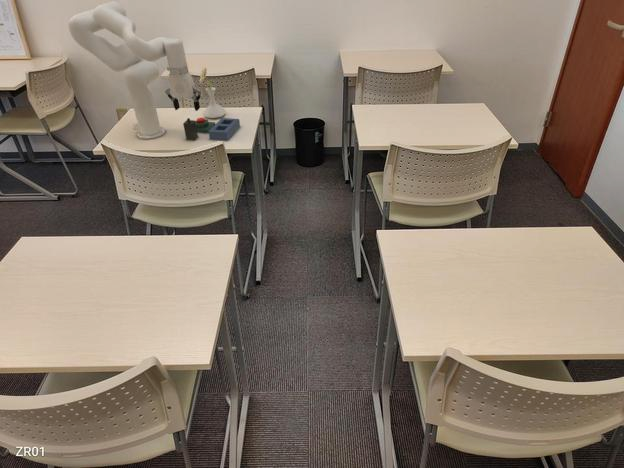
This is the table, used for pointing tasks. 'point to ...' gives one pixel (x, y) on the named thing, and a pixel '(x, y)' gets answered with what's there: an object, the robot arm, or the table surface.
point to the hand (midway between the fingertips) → (187, 109)
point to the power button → (200, 120)
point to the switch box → (204, 126)
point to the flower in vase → (211, 100)
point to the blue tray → (224, 129)
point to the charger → (190, 129)
